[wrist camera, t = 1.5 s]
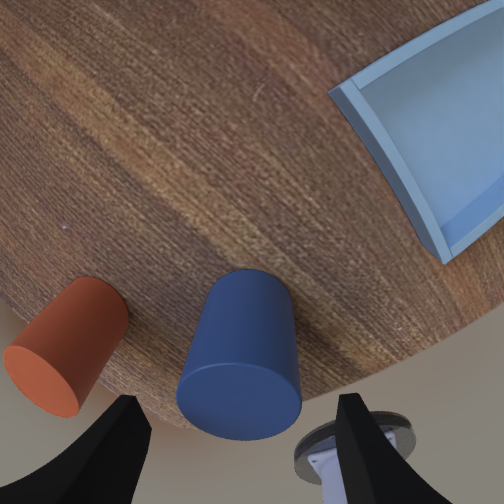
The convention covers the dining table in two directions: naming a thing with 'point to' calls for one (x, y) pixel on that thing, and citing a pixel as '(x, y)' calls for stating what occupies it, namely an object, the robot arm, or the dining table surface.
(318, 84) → the dining table surface
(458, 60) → the blue tray
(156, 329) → the dining table surface
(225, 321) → the blue cylinder
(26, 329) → the orange cylinder
